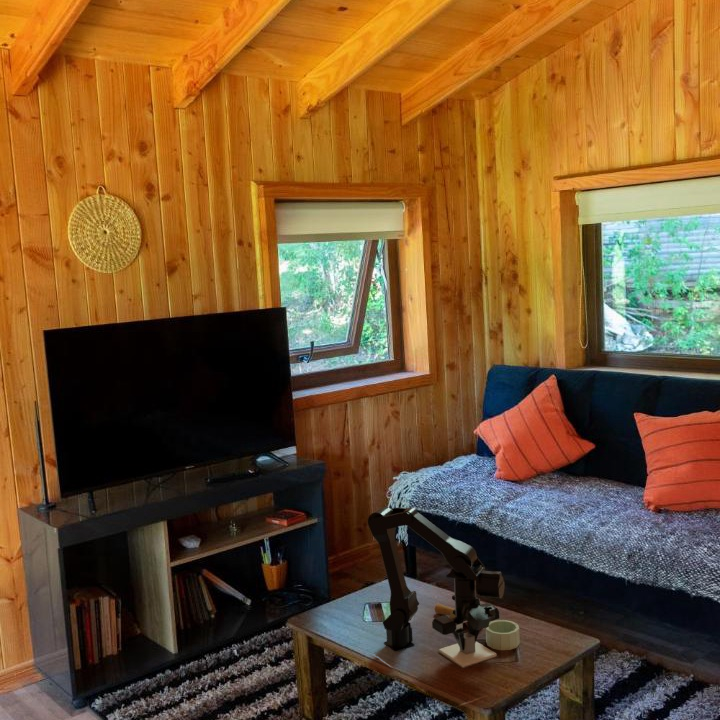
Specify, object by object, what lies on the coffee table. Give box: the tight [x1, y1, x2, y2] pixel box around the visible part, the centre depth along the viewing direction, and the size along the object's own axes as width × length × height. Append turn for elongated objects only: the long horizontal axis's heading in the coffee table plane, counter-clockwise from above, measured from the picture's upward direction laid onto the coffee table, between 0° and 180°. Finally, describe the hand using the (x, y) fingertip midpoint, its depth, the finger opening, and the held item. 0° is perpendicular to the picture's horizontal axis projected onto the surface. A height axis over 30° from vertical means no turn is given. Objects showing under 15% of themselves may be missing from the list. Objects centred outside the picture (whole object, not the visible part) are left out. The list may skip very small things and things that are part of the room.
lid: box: [438, 632, 497, 667], centre depth 245 cm, size 11×11×5 cm
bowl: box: [485, 619, 521, 651], centre depth 251 cm, size 9×9×5 cm
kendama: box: [434, 603, 468, 627], centre depth 267 cm, size 8×6×18 cm
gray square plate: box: [437, 650, 500, 669], centre depth 246 cm, size 12×12×1 cm
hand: (467, 648), depth 245 cm, fingers closed on lid, 3 cm apart
